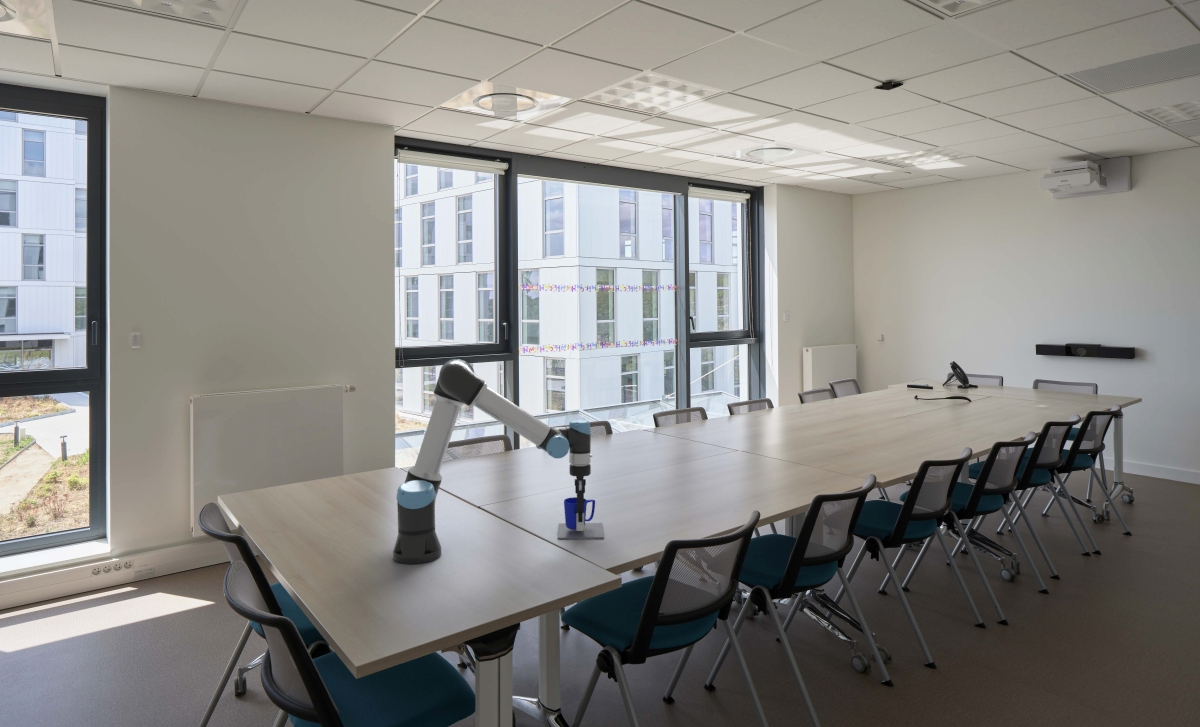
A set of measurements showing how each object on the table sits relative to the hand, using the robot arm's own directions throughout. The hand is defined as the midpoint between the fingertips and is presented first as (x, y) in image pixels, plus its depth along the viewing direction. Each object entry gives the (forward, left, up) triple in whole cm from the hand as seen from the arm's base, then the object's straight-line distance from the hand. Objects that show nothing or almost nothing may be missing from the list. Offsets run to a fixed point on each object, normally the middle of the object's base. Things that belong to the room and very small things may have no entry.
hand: (580, 526), depth 250 cm
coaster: (0, 0, -2) cm, 2 cm away
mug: (0, +1, 0) cm, 1 cm away
